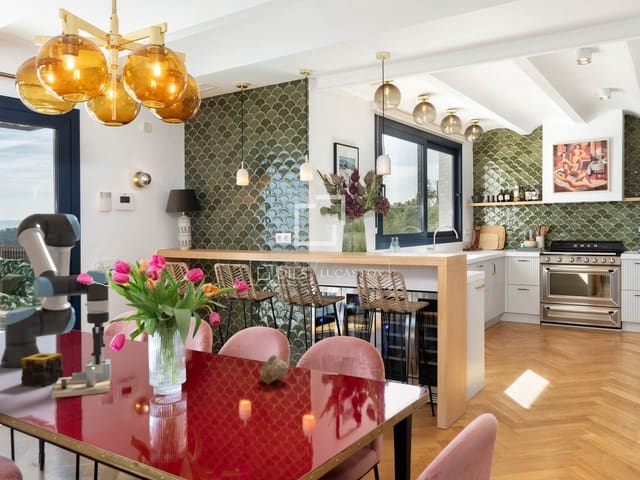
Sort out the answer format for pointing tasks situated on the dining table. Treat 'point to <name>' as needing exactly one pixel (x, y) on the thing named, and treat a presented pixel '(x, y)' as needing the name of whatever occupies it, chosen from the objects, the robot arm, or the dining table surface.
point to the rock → (273, 369)
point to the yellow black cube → (41, 369)
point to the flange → (98, 376)
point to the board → (79, 387)
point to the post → (90, 377)
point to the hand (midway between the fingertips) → (99, 368)
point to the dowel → (64, 383)
